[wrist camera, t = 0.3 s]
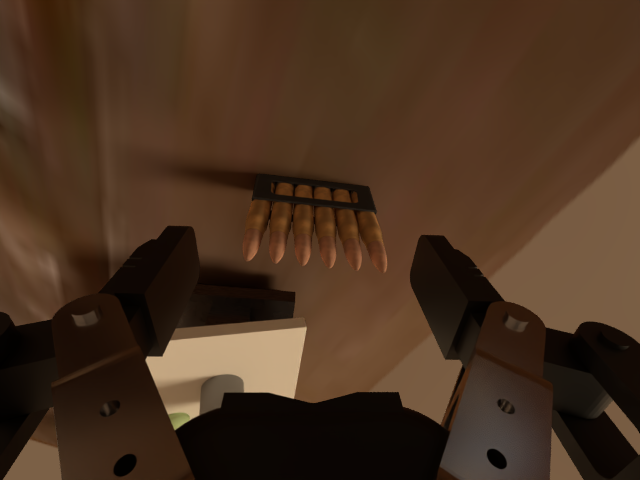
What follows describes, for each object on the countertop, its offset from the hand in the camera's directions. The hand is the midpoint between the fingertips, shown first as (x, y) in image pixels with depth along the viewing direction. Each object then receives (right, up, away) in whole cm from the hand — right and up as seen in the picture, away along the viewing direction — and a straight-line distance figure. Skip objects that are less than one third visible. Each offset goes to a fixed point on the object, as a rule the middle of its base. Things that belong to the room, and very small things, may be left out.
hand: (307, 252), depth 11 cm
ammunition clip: (0, +5, +19) cm, 20 cm away
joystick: (-9, -13, +20) cm, 26 cm away
